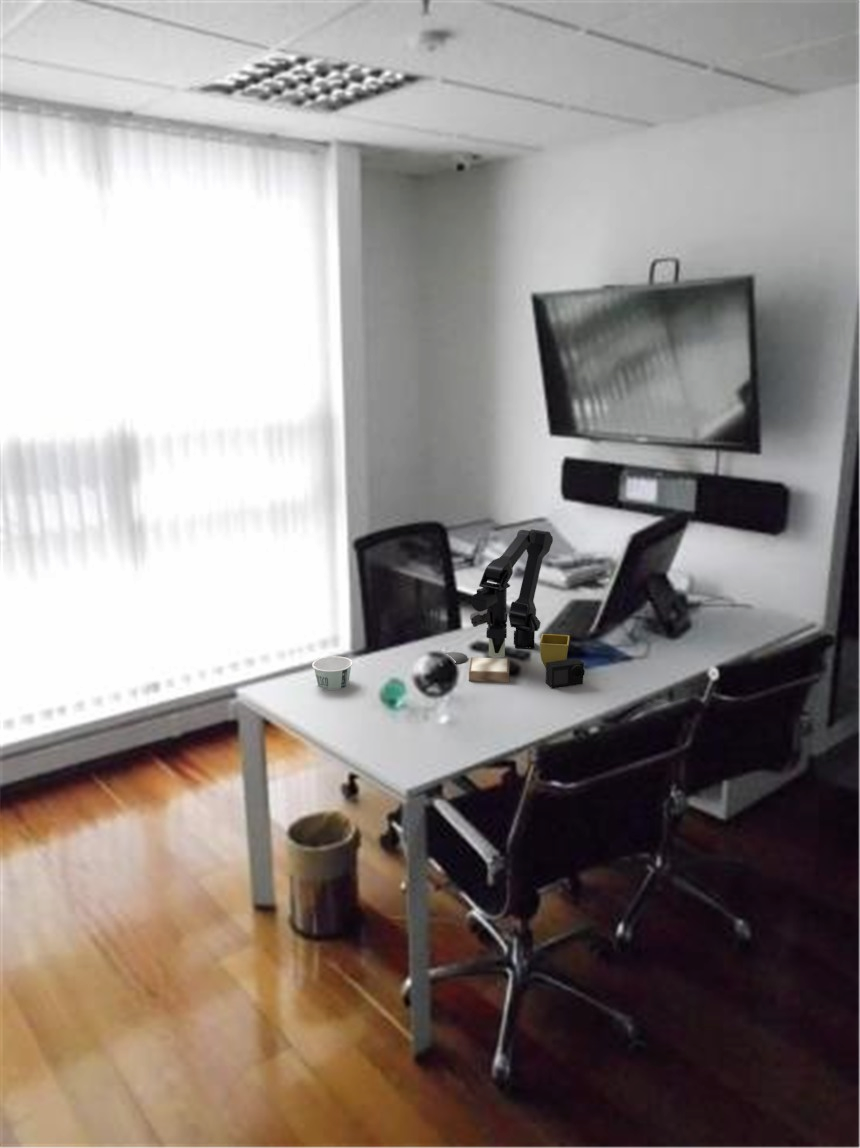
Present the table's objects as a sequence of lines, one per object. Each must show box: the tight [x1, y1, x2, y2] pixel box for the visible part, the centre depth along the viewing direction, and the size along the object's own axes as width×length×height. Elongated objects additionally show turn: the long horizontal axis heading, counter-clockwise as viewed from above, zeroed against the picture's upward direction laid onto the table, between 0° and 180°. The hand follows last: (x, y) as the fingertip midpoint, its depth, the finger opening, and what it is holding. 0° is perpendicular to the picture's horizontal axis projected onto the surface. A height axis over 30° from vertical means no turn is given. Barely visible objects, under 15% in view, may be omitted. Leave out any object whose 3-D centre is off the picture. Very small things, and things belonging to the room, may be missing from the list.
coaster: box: [444, 651, 468, 665], centre depth 283 cm, size 9×9×1 cm
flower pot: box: [539, 633, 571, 669], centre depth 275 cm, size 9×9×9 cm
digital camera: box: [545, 658, 586, 689], centre depth 261 cm, size 10×5×7 cm, turn 107°
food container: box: [311, 655, 353, 690], centre depth 264 cm, size 12×12×6 cm
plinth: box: [468, 656, 510, 683], centre depth 270 cm, size 12×12×3 cm
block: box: [488, 638, 506, 658], centre depth 280 cm, size 5×5×6 cm
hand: (496, 650), depth 281 cm, fingers closed on block, 5 cm apart
